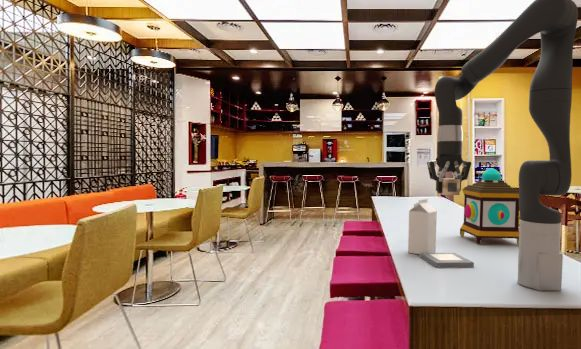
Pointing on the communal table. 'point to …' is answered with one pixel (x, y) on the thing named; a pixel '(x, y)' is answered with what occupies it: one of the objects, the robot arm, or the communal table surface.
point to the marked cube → (450, 186)
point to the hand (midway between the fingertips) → (448, 192)
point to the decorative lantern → (491, 208)
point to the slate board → (446, 260)
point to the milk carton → (422, 228)
